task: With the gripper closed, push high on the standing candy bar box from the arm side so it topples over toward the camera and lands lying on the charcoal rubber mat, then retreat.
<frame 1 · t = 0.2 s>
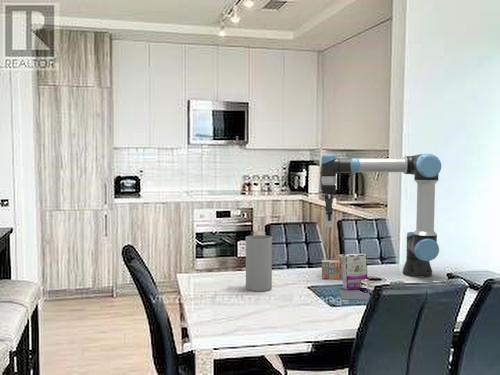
hand: (328, 225, 264), 28 cm above the table, fingers open, 13 cm apart
stack of blocks: (342, 279, 266), on the table
mat: (357, 295, 233), on the table
cylinder vase: (258, 289, 245), on the table
candy bar box: (355, 289, 244), on the table, touching mat
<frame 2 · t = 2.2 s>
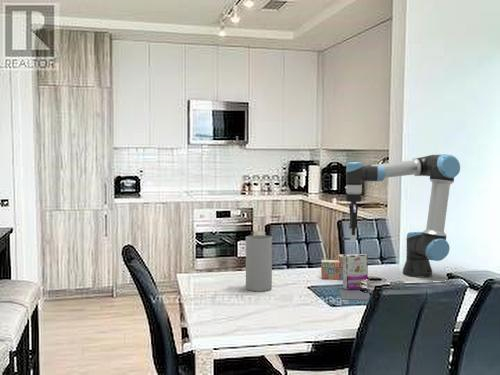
hand: (352, 241, 251), 22 cm above the table, fingers closed
nothing on the table moved.
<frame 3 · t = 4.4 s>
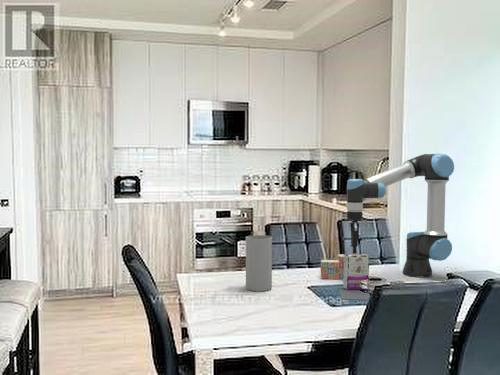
hand: (354, 259, 247), 14 cm above the table, fingers closed
candy bar box: (355, 288, 244), on the table, touching gripper, mat
everything else where it was.
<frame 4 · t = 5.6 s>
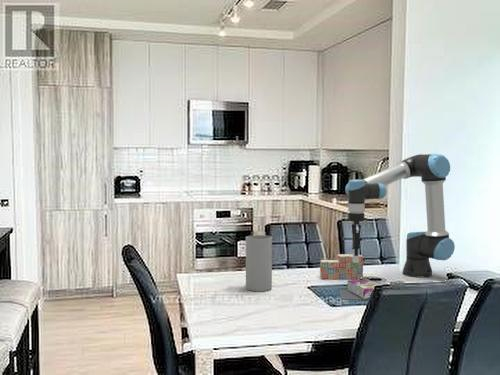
hand: (355, 262, 240), 14 cm above the table, fingers closed
candy bar box: (357, 284, 241), point 3 cm above the table, touching mat
everything else where it was.
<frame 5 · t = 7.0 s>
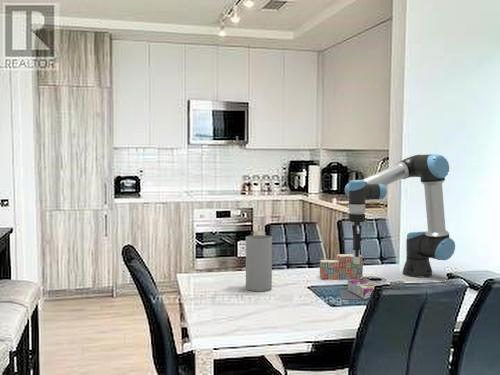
hand: (356, 263, 238), 13 cm above the table, fingers closed
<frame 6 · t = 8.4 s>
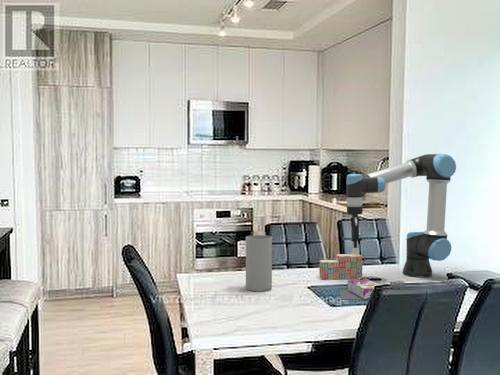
hand: (355, 254, 248), 16 cm above the table, fingers closed
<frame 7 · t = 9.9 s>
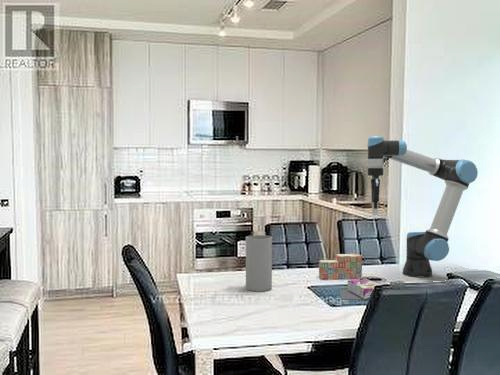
hand: (375, 214, 254), 34 cm above the table, fingers closed
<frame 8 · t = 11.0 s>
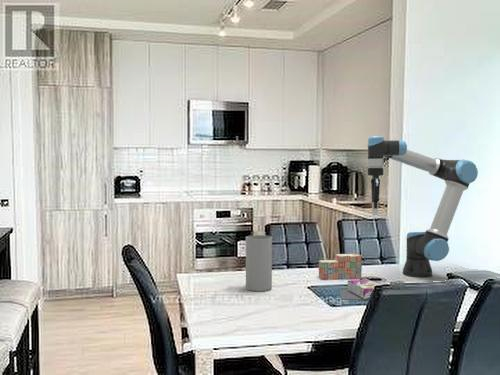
hand: (375, 214, 254), 34 cm above the table, fingers closed
at the end: candy bar box tilted 91°; candy bar box inside the target area (6.8 cm from its centre), point 2.8 cm above the table; the gripper is holding nothing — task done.
